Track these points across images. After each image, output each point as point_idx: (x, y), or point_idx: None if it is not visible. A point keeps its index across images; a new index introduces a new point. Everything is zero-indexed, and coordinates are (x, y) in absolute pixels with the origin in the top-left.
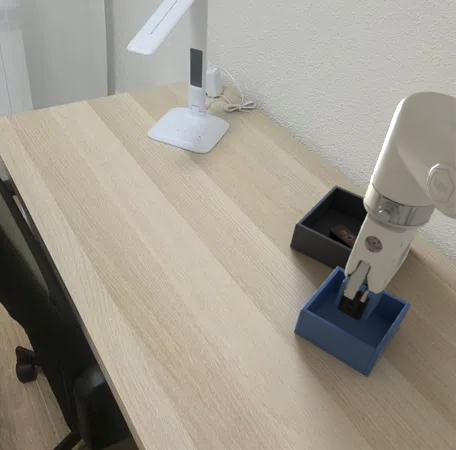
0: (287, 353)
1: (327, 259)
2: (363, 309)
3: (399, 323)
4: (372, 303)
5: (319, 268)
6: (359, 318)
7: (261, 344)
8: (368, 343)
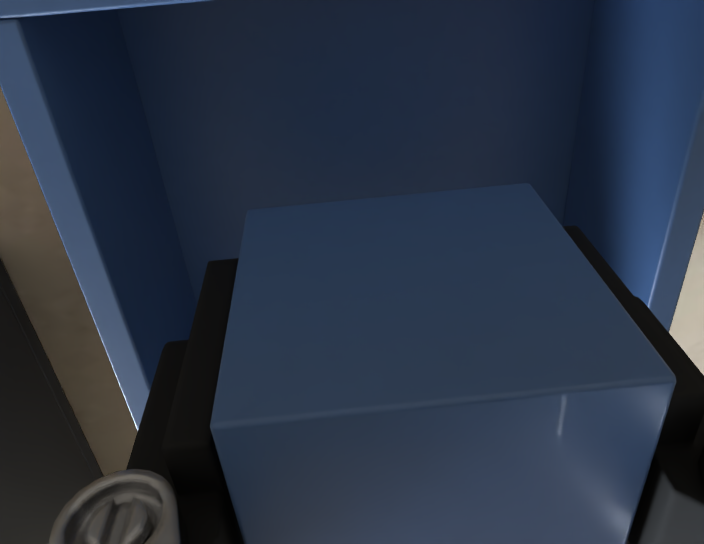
0: (689, 278)
1: (72, 468)
2: (634, 305)
3: None
4: (630, 325)
5: (129, 440)
6: (581, 236)
7: (696, 363)
8: (397, 32)
